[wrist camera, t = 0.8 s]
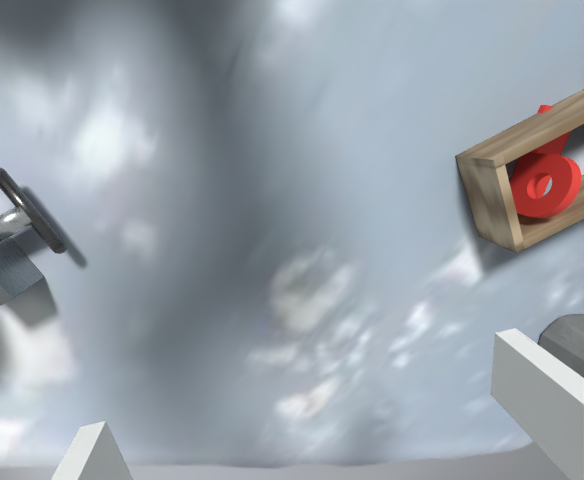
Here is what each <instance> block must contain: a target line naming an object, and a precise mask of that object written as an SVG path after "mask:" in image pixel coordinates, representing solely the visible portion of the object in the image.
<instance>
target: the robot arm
mask: <svg viewBox="0 0 584 480" xmlns="http://www.w3.org/2000/svg"><path fill="white" fill-rule="evenodd" d="M491 395H492V396H493V398H494V399H495V400H496V401H497V402H498V403H499V404H500V405H501V406H502V407H503V408H504V409H505V410H506V411H507V413H508V414H509V415H510V416H511V417H512V418H513V419H514V420H515V421H516V422H517V423H518V424H519V425H520V426H521V428H522V429H523V430H524V431H525V432H526V433H527V434H528V435H529V436H530V437H531V438H532V439H533V440H534V441H535V442H536V444H537V445H538V446H539V447H540V448H541V449H542V450H543V451H544V452H545V453H546V454H547V455H548V456H549V457H550V459H552V461H553V462H554V463H555V464H556V465H557V466H558V467H559V468H560V469H561V470H562V471H563V472H564V474H565V475H566V476H567V477H568V478H569V479H570V480H584V378H583V377H582V376H580V375H579V374H577V373H576V372H575V371H573V370H572V369H571V368H569V367H568V366H566V365H565V364H564V363H562V362H561V361H560V360H558V359H557V358H556V357H554V356H553V355H551V354H550V353H549V352H547V351H546V350H545V349H543V348H542V347H540V346H539V345H538V344H536V343H535V342H534V341H532V340H531V339H529V338H528V337H527V336H525V335H524V334H523V333H521V332H520V331H518V330H517V329H516V328H515V329H510V330H506V331H502V332H497V333H495V341H494V354H493V367H492V380H491ZM51 480H133V479H132V476H131V474H130V472H129V470H128V468H127V465H126V463H125V461H124V459H123V457H122V455H121V452H120V450H119V448H118V446H117V444H116V442H115V439H114V437H113V435H112V433H111V431H110V429H109V426H108V424H107V422H106V421H103V422H98V423H94V424H89V425H85V426H81V427H80V428H79V430H78V432H77V434H76V436H75V437H74V439H73V441H72V443H71V445H70V446H69V448H68V450H67V452H66V454H65V456H64V457H63V459H62V461H61V463H60V465H59V466H58V468H57V470H56V472H55V474H54V475H53V477H52V479H51Z"/></svg>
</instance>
